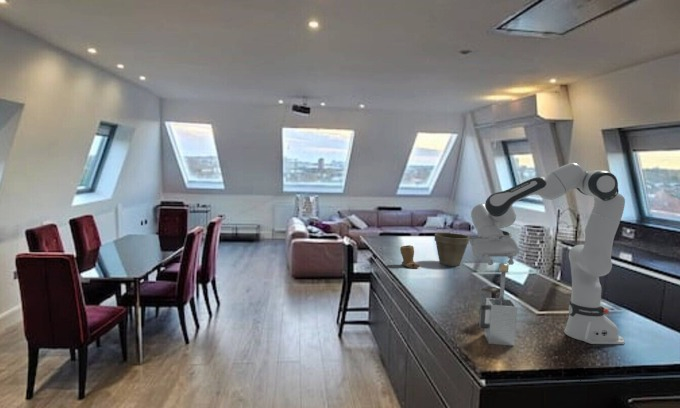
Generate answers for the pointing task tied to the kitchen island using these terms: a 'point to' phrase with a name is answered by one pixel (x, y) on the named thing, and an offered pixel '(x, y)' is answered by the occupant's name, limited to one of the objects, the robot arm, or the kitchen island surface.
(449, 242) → the plant pot
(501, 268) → the plunger
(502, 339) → the press
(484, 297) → the coffee box
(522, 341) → the kitchen island surface
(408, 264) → the brown boot
